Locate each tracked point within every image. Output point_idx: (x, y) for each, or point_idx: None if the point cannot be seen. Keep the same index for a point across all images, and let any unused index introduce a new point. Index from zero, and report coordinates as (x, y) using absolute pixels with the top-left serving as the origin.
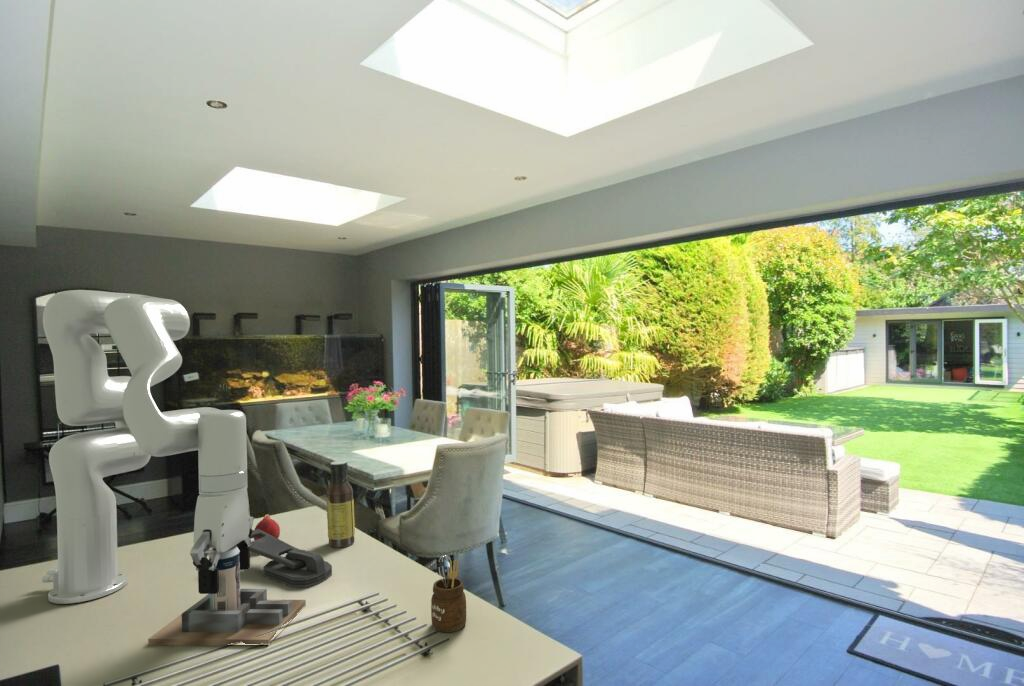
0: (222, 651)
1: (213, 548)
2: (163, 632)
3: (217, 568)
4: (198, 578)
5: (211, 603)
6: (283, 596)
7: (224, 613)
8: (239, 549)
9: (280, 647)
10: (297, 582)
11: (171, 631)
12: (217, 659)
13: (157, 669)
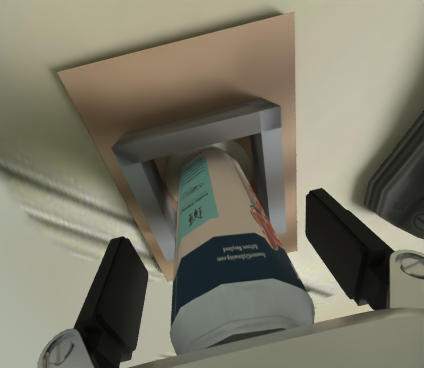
0: (128, 232)
1: (239, 332)
2: (100, 84)
3: (126, 360)
4: (93, 282)
5: (181, 186)
6: (329, 190)
7: (158, 239)
8: (354, 278)
9: (171, 285)
10: (375, 196)
11: (114, 102)
12: (108, 242)
13: (28, 182)
